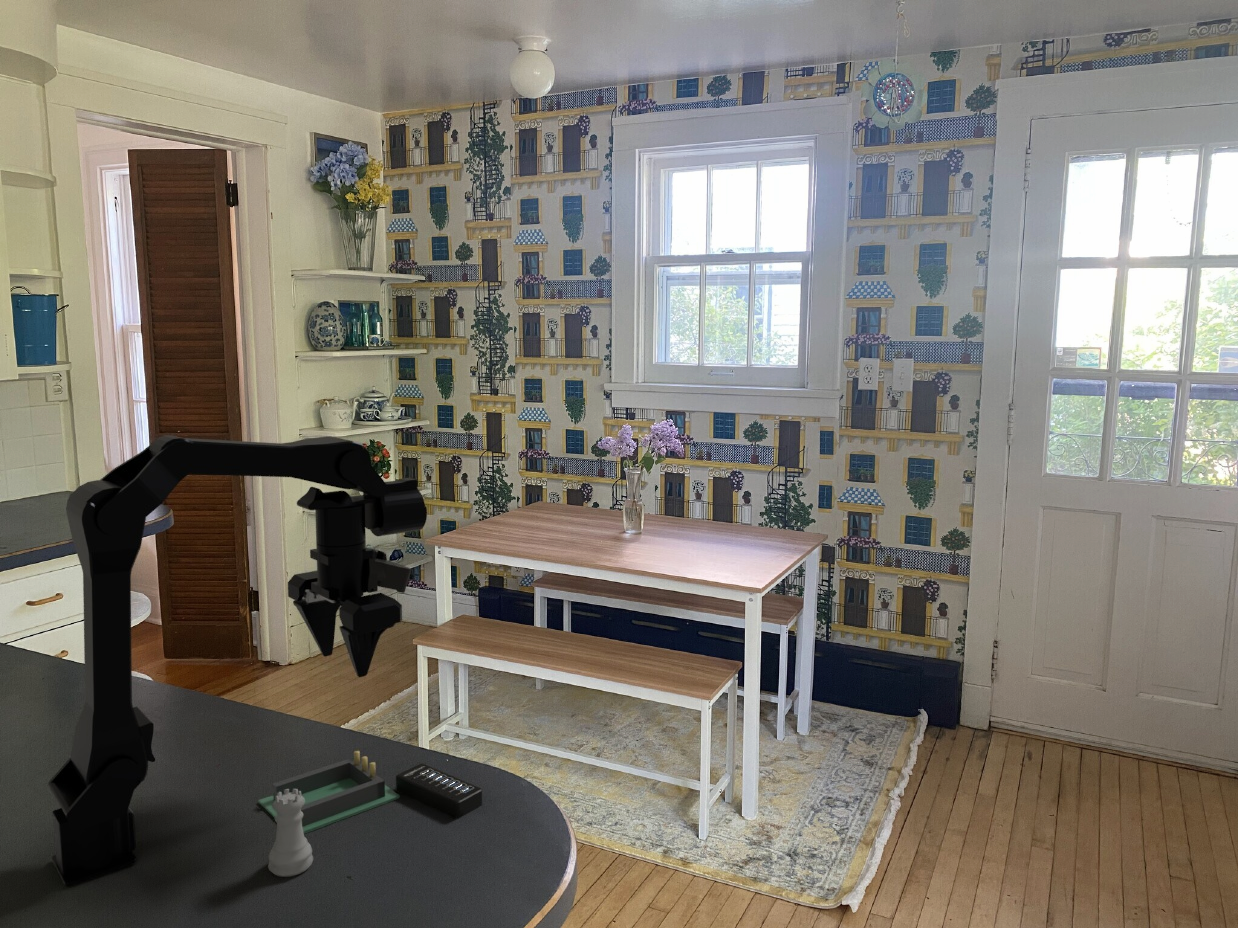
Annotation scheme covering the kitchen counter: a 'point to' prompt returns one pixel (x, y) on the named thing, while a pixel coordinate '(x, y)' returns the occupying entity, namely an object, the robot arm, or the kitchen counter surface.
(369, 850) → the kitchen counter surface
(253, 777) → the kitchen counter surface
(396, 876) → the kitchen counter surface
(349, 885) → the kitchen counter surface
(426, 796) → the multiport hub
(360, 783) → the header socket
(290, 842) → the rook chess piece
